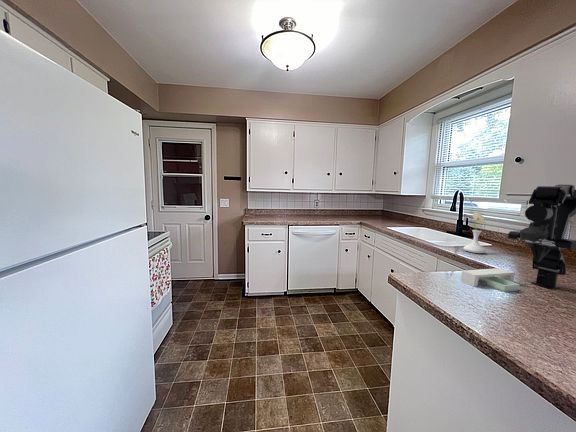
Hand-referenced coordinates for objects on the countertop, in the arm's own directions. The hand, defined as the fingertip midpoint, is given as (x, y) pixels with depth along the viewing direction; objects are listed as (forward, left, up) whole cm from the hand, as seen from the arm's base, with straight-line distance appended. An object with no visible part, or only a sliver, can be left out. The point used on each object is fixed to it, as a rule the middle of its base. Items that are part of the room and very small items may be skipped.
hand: (537, 261), depth 93 cm
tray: (+7, -8, -12) cm, 16 cm away
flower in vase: (-41, -54, -12) cm, 69 cm away
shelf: (+7, -12, -12) cm, 18 cm away
